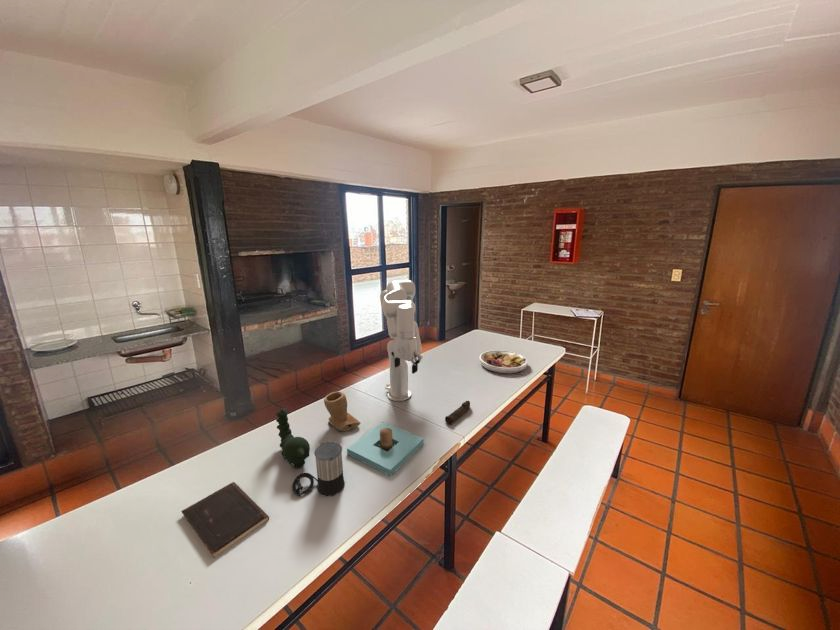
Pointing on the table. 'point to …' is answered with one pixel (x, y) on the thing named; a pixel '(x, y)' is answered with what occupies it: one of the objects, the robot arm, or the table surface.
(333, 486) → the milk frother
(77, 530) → the table surface
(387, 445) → the cylinder
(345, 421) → the tan boot-shaped piece
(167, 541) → the table surface
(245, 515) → the hardcover book
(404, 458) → the square hole plate
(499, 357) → the bowl
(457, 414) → the hand tool
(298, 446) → the toy figurine
